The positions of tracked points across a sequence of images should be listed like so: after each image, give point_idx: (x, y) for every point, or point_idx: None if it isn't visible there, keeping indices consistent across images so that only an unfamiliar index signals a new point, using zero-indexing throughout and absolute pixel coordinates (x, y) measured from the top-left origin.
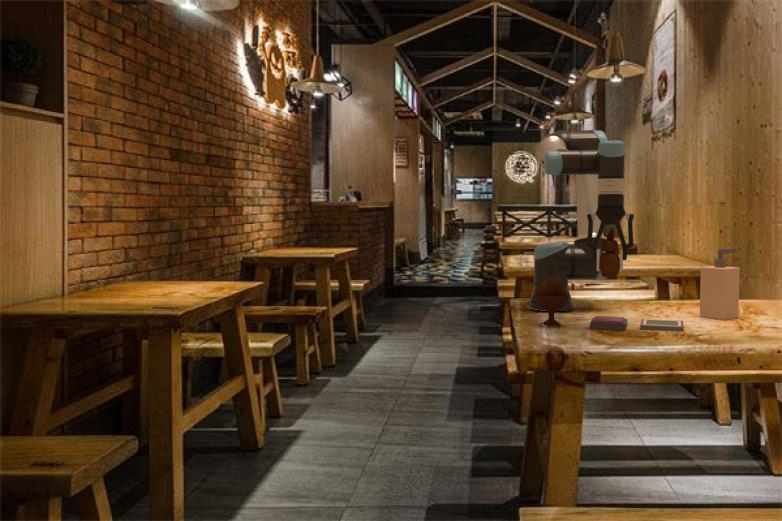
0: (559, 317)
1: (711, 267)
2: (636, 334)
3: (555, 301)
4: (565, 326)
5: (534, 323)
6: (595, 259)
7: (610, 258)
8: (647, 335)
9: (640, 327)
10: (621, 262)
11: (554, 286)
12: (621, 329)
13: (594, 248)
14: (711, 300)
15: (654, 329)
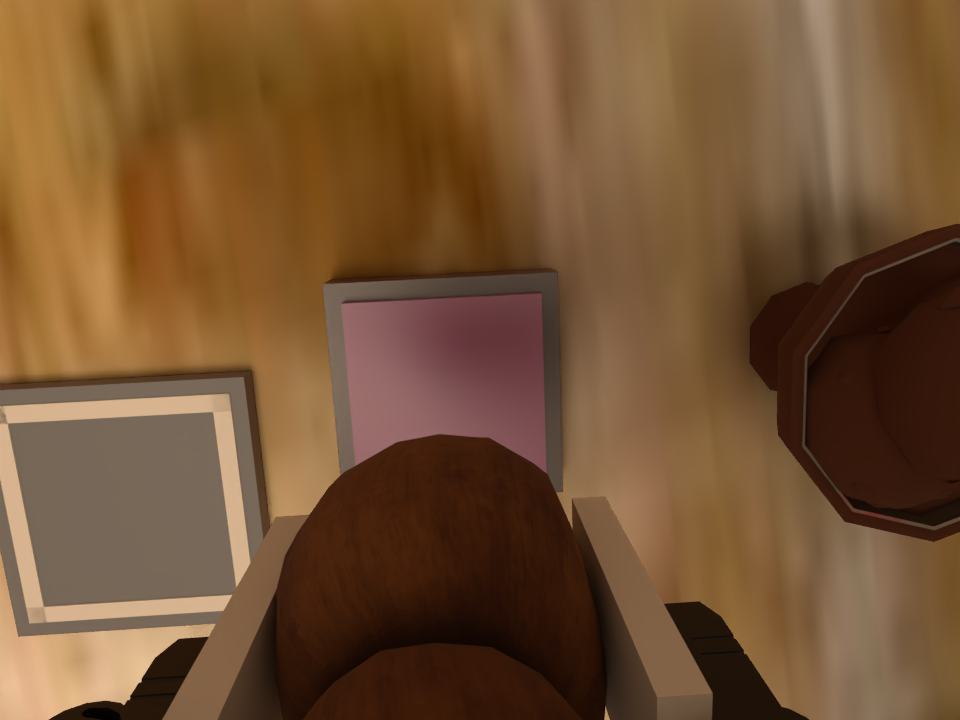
0: (783, 629)
1: None
2: (242, 172)
3: (874, 253)
4: (712, 317)
5: None
6: (671, 606)
7: (406, 502)
8: (170, 158)
9: (245, 373)
10: (253, 578)
11: None
12: (352, 279)
13: (774, 715)
14: None
15: (161, 376)
